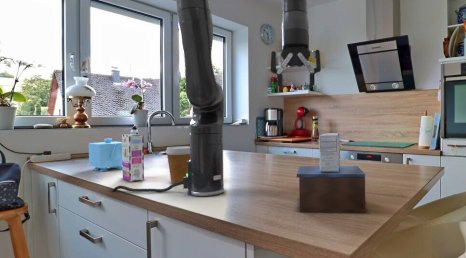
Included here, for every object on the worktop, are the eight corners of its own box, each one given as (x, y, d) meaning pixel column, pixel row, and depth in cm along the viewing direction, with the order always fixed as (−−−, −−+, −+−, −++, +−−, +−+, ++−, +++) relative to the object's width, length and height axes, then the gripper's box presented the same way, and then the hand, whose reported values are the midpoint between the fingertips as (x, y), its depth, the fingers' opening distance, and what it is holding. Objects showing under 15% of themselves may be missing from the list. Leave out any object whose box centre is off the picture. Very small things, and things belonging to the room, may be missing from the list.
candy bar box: (145, 180, 105) (144, 134, 105) (129, 182, 102) (128, 135, 101) (136, 176, 113) (135, 133, 113) (122, 178, 110) (120, 134, 110)
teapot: (87, 168, 134) (86, 138, 134) (113, 165, 143) (112, 137, 142) (106, 173, 120) (105, 140, 120) (134, 170, 129) (133, 138, 129)
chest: (299, 211, 66) (299, 177, 66) (301, 198, 78) (301, 169, 78) (365, 212, 65) (365, 177, 65) (357, 199, 77) (357, 169, 77)
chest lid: (296, 177, 66) (296, 173, 66) (299, 169, 78) (299, 166, 78) (365, 177, 65) (365, 173, 65) (357, 169, 77) (357, 166, 77)
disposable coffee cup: (162, 181, 103) (162, 147, 102) (190, 178, 109) (189, 145, 108) (170, 186, 95) (169, 149, 95) (199, 182, 101) (198, 147, 101)
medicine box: (338, 172, 67) (338, 134, 67) (319, 172, 68) (318, 134, 68) (340, 167, 75) (339, 133, 75) (322, 167, 76) (322, 133, 76)
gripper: (320, 33, 87) (320, 88, 88) (272, 35, 89) (273, 89, 89) (320, 25, 80) (321, 85, 80) (268, 27, 81) (269, 86, 81)
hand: (296, 87), depth 85 cm, fingers open, 8 cm apart
